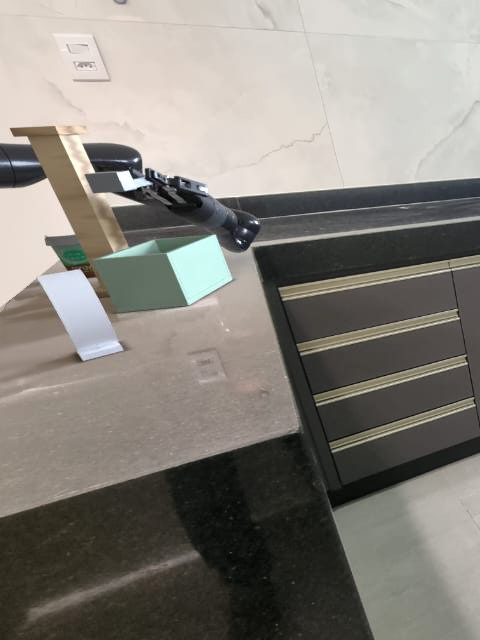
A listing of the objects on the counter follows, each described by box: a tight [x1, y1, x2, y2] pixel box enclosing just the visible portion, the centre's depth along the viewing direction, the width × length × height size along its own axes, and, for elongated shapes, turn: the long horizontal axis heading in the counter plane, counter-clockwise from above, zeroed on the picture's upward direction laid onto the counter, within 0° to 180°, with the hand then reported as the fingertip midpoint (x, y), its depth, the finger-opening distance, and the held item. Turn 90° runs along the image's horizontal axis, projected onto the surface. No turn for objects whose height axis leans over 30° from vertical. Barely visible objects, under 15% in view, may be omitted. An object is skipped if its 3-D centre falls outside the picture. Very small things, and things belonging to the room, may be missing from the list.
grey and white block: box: [84, 171, 154, 194], centre depth 98 cm, size 14×5×3 cm, turn 14°
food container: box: [44, 234, 96, 279], centre depth 124 cm, size 12×6×10 cm, turn 122°
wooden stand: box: [9, 125, 130, 299], centre depth 106 cm, size 9×9×32 cm
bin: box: [92, 234, 233, 314], centre depth 105 cm, size 19×12×10 cm, turn 13°
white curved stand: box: [36, 269, 124, 362], centre depth 77 cm, size 5×6×12 cm
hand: (139, 173), depth 100 cm, fingers closed on grey and white block, 2 cm apart
